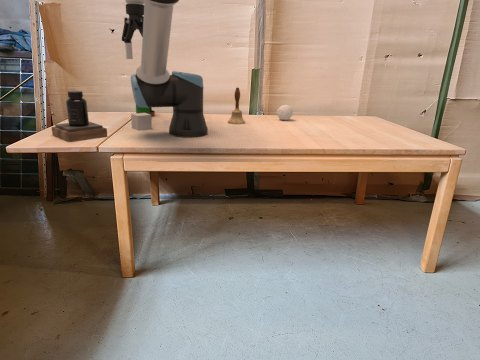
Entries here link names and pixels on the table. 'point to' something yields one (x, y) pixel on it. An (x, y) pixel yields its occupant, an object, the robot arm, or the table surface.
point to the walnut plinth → (79, 131)
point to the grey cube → (141, 121)
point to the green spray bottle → (145, 110)
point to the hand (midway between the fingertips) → (138, 59)
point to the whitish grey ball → (285, 112)
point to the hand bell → (236, 111)
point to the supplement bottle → (77, 109)
